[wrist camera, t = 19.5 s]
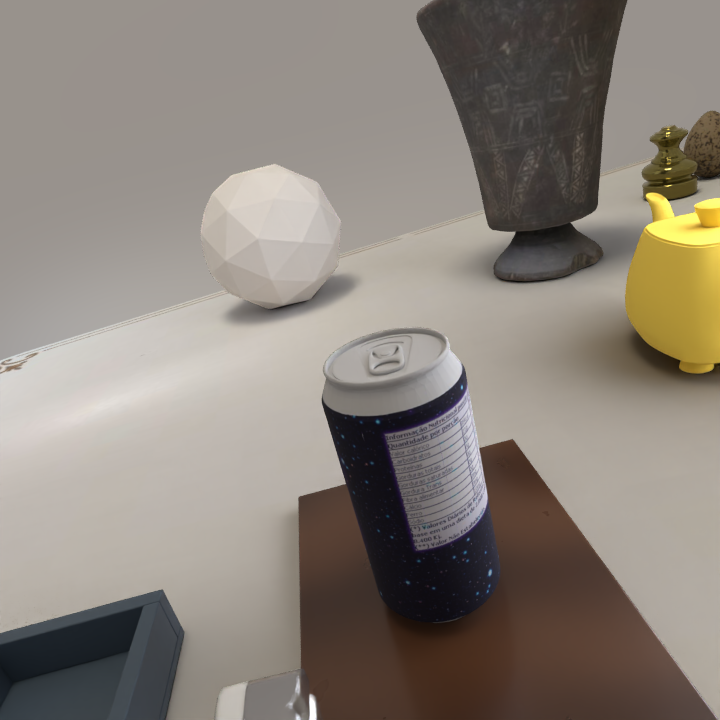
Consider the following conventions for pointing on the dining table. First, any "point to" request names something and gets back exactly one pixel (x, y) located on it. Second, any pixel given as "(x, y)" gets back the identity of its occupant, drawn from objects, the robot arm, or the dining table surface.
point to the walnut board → (484, 624)
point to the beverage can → (413, 471)
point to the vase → (531, 117)
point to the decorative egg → (705, 144)
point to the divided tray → (93, 663)
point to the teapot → (678, 284)
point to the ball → (270, 236)
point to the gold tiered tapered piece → (670, 166)
